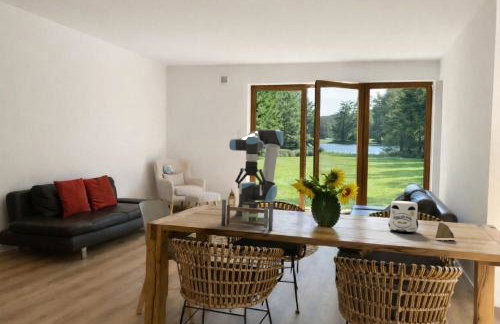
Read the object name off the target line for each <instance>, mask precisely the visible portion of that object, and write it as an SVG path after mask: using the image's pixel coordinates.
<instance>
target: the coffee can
mask: <svg viewBox="0 0 500 324" xmlns="http://www.w3.org/2000/svg"><path fill="white" fill-rule="evenodd" d="M242 208H253V209H259V201H255V202H253V201H245V202H242ZM258 218H259V213H256V212H244V211H242V216H241V221H248V222H258V223H259V221H258V220H259V219H258ZM241 225H242V226H246V227H255V226H256V225H246V224H241Z"/></svg>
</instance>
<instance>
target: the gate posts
mask: <svg viewBox="0 0 500 324" xmlns="http://www.w3.org/2000/svg"><path fill="white" fill-rule="evenodd" d="M268 204H269V205H268V228H267V230H268V231H273V225H274V224H273V221H274V203H272V202H270V203H268ZM226 218H227V200H226V199H221V226H222V227H226Z"/></svg>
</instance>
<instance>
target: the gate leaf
mask: <svg viewBox="0 0 500 324" xmlns="http://www.w3.org/2000/svg"><path fill="white" fill-rule="evenodd" d="M231 211H235V212H236V211H244V212H256V213H258V214H263V222H259V221H258V222H248V221H242V220H236V219H231ZM231 224H237V225H242V224H246V225H256V226H257V227H263V229H268V225H269V207H264V208H258V209H253V208H241V207H238V206H231V205H230V204H226V219H225V226H226V225H227V226H230V225H231Z"/></svg>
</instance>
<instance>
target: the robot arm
mask: <svg viewBox="0 0 500 324" xmlns="http://www.w3.org/2000/svg"><path fill="white" fill-rule="evenodd" d="M228 146H229V149H230V150H231V151H235V152H236V151H238V152H239V151H240V152H242V151H244V152H245V165H244V166H245V168H243V167H241V168H239V170H240V171H239V173H238V175H237V176H236V179H235V181H234V182H235V183H236V184H237V188H238V205H237V207H241V208H242V202H245V201H253V202H267V203H268V202H270V203H272V202H274V201H275V199H276V197H277V193H278V186H277V185H276V183H275V180H274V179H275V173H276V172H275V171H276V167H277V166H276V165H277V158H278V151H279V150H280V149H281V147H282V146H284V133H283V131H282V130H281V129H275V128H274V129H273V128H272V129H270V128H269V129H267V128H266V129H265V128H264V129H263V128H261V129H256V130H253V131H250V132H249V133H248V134H247V135H245V136H242V137H240V138H232V139H230V140H229V145H228ZM264 149H265V154H264V160H263V161H264V162H263V169H262V168H260V169H258V165H259V162H258V160H259V159H258V158H259V154H258V153H259V152H261V151H263V150H264ZM244 172H245V173H244ZM243 173H244V174H243ZM258 173H259V174H258ZM242 175H243V176H242ZM259 175H260V176H259ZM247 176H249V177H255V178H256V179H257V181H258V184H257V183H256V182H255V181H248V182H243V181H244V180H245V179H246V177H247ZM235 215H237V216H239V217H240V216H241V217H242V211H235Z"/></svg>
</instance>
